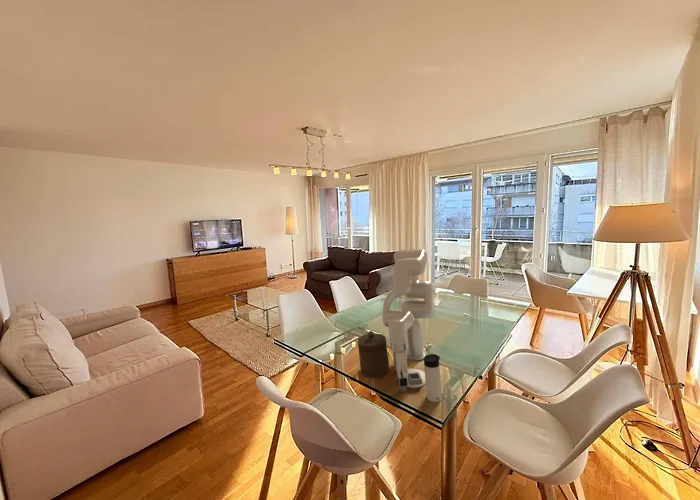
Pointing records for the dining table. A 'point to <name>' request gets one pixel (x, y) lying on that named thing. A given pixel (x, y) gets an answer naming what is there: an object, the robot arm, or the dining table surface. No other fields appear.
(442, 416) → the dining table surface
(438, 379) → the travel mug
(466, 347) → the dining table surface
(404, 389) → the peg
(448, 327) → the dining table surface
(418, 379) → the dial
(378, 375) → the wooden container
